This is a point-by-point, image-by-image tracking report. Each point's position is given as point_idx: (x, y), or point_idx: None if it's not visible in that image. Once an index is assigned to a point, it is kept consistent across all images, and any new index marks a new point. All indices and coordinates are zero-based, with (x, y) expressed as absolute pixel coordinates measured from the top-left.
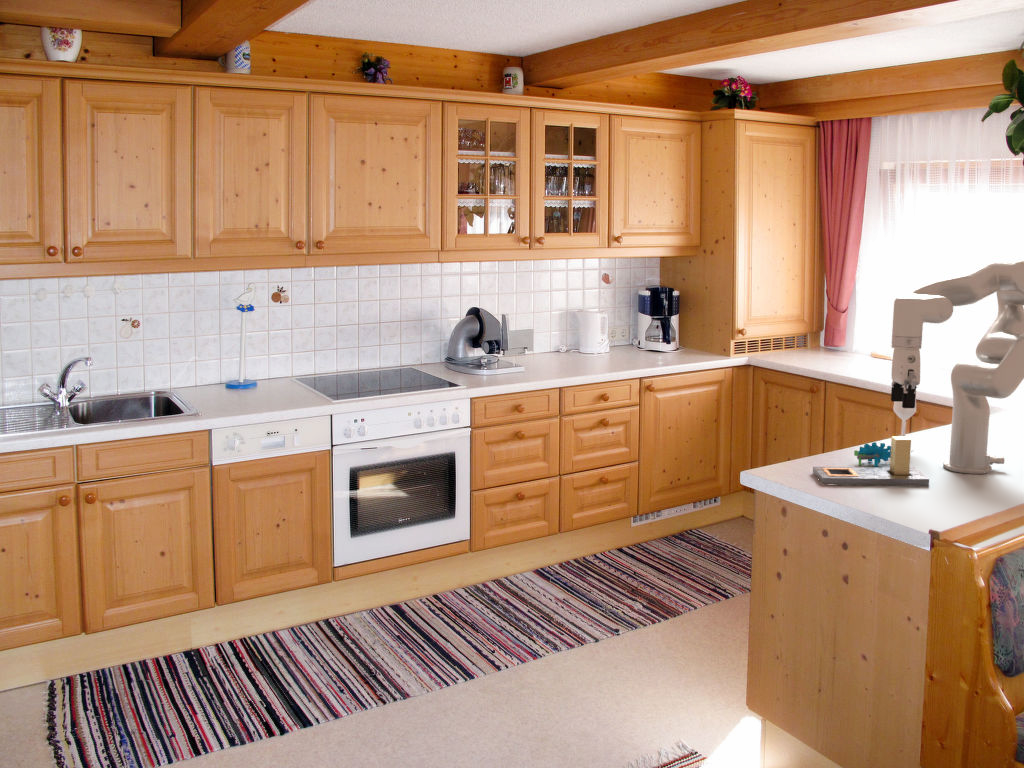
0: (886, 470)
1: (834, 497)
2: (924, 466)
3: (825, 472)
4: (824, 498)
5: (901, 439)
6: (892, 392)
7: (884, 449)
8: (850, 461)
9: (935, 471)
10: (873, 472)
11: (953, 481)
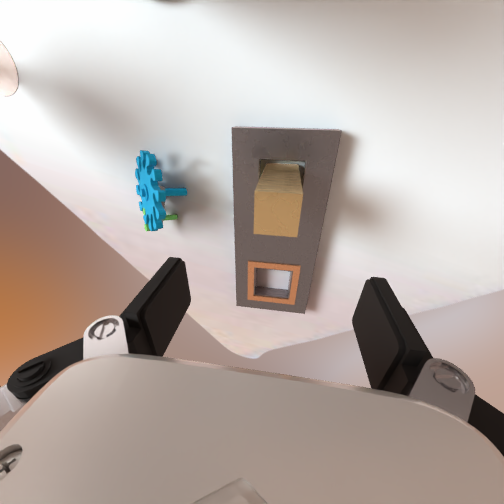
0: None
1: None
2: (150, 62)
3: (272, 301)
4: None
5: (296, 221)
6: (171, 336)
7: (153, 182)
8: None
9: (197, 47)
10: None
11: (299, 30)
